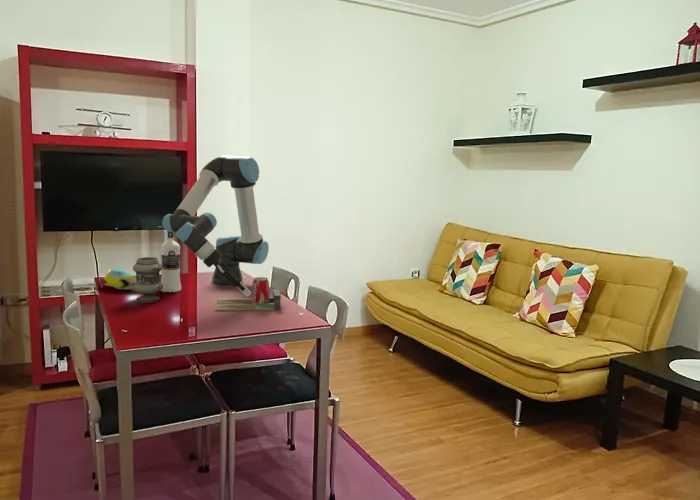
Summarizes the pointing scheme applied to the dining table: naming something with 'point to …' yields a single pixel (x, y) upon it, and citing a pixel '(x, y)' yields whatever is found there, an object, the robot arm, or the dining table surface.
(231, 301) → the guide channel
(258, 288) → the soda can
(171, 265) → the vodka
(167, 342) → the dining table surface
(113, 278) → the decorative bird
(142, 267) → the apothecary jar
